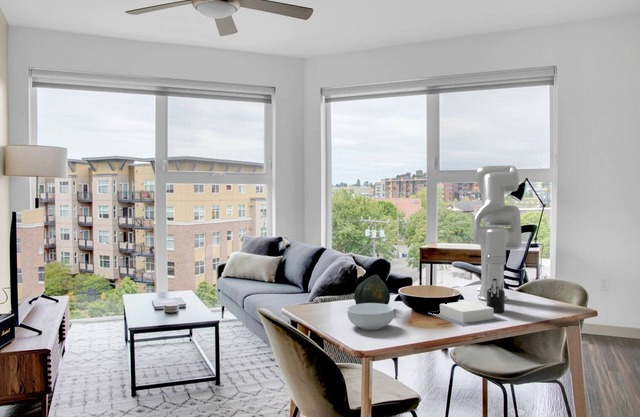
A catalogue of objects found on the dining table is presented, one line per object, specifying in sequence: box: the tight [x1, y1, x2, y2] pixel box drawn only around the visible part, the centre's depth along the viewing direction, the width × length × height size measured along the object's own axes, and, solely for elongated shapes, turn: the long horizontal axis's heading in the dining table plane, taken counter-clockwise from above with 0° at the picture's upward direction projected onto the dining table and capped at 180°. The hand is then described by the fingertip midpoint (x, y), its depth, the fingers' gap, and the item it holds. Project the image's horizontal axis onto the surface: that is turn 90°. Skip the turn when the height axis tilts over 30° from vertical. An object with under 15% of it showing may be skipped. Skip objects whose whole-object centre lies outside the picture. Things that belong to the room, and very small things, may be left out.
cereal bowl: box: [346, 303, 395, 331], centre depth 183 cm, size 17×17×7 cm
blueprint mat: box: [428, 312, 508, 327], centre depth 195 cm, size 22×20×1 cm
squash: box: [353, 274, 391, 305], centre depth 209 cm, size 14×15×15 cm
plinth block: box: [439, 300, 495, 323], centre depth 194 cm, size 14×14×4 cm
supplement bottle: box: [486, 284, 506, 314], centre depth 202 cm, size 7×7×12 cm
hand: (495, 304), depth 202 cm, fingers closed on supplement bottle, 6 cm apart
